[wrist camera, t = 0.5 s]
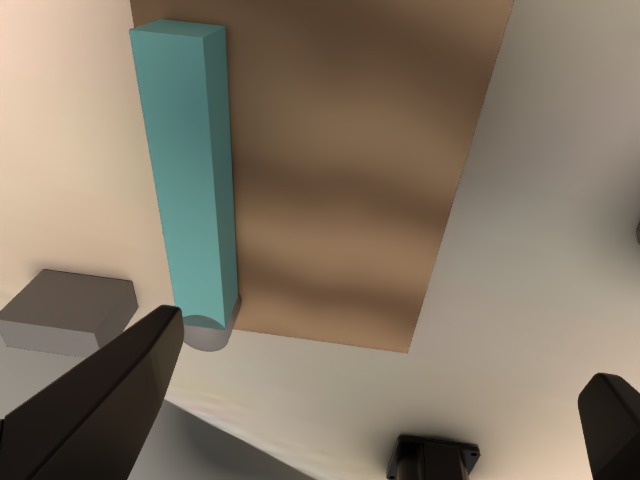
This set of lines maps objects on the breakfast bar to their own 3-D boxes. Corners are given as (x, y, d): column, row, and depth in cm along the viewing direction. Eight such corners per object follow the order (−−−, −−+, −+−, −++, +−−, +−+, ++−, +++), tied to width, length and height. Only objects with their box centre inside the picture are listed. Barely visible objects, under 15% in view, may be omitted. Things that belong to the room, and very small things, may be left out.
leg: (241, 321, 25) (229, 354, 23) (195, 315, 25) (179, 347, 23) (228, 26, 16) (207, 38, 14) (156, 18, 16) (124, 29, 14)
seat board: (405, 328, 27) (407, 353, 26) (193, 299, 28) (181, 321, 26) (511, -45, 16) (527, -44, 14) (143, -80, 16) (116, -83, 15)
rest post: (138, 307, 29) (103, 360, 25) (54, 296, 29) (7, 346, 25) (131, 281, 27) (94, 333, 24) (43, 269, 28) (-8, 318, 24)
